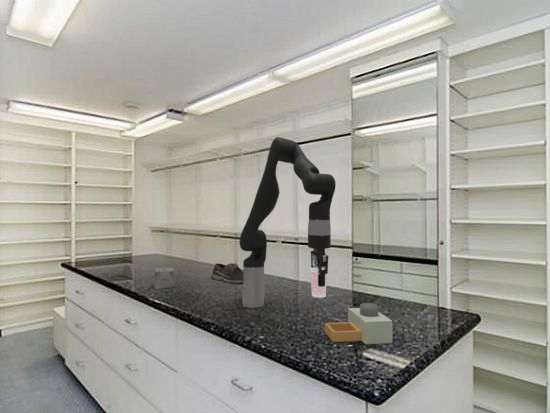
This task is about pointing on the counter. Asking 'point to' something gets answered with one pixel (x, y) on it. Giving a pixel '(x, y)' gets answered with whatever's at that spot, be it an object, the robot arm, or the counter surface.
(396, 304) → the counter surface
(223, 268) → the boat shoe
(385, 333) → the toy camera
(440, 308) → the counter surface
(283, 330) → the counter surface
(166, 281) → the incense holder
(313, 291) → the beverage cup
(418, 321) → the counter surface
